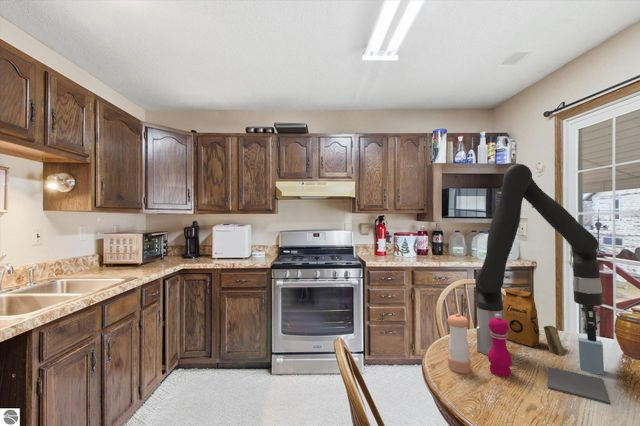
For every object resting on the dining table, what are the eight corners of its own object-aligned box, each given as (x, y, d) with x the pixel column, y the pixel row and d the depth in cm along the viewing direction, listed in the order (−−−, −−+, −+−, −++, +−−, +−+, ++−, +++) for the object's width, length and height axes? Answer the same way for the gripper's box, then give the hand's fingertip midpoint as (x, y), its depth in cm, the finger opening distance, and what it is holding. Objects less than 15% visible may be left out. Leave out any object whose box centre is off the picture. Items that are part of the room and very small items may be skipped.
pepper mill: (509, 369, 105) (507, 311, 106) (515, 379, 98) (513, 317, 99) (486, 366, 108) (484, 310, 108) (490, 375, 101) (488, 315, 102)
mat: (547, 388, 93) (547, 386, 93) (547, 368, 105) (547, 366, 105) (609, 404, 84) (609, 402, 84) (602, 380, 97) (602, 378, 97)
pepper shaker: (470, 365, 108) (468, 312, 109) (471, 375, 102) (469, 317, 102) (448, 362, 111) (446, 310, 112) (447, 370, 105) (446, 315, 105)
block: (580, 370, 104) (579, 340, 104) (579, 365, 107) (578, 337, 107) (604, 375, 100) (602, 344, 101) (602, 370, 103) (601, 341, 104)
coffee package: (531, 349, 121) (529, 294, 122) (500, 339, 132) (498, 289, 133) (544, 344, 126) (542, 291, 127) (513, 335, 137) (511, 286, 138)
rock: (549, 336, 128) (532, 336, 125) (563, 324, 124) (545, 323, 121) (571, 361, 119) (552, 361, 117) (586, 348, 115) (568, 348, 112)
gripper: (572, 285, 113) (575, 329, 112) (574, 292, 101) (578, 341, 101) (599, 287, 108) (602, 332, 107) (605, 295, 97) (608, 346, 96)
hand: (590, 336), depth 104 cm, fingers open, 8 cm apart
